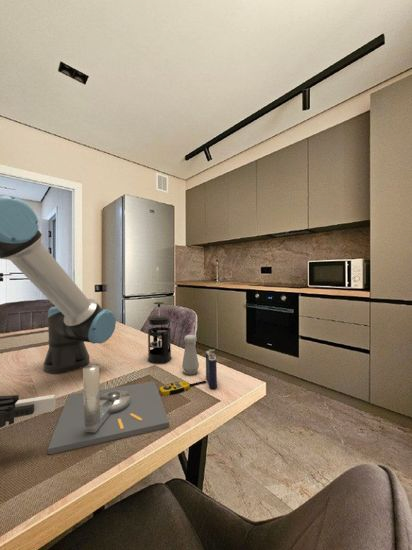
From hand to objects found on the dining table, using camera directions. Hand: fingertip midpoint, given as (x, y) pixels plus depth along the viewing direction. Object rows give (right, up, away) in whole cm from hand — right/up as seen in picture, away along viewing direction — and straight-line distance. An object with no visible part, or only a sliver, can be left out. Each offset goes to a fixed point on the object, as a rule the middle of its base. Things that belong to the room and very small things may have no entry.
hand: (54, 402), depth 51 cm
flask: (+33, -8, +28) cm, 44 cm away
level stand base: (+7, -9, +13) cm, 17 cm away
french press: (+13, -8, +48) cm, 50 cm away
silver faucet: (+7, -7, +9) cm, 14 cm away
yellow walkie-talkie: (+24, -9, +25) cm, 36 cm away
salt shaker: (+26, -8, +36) cm, 45 cm away
